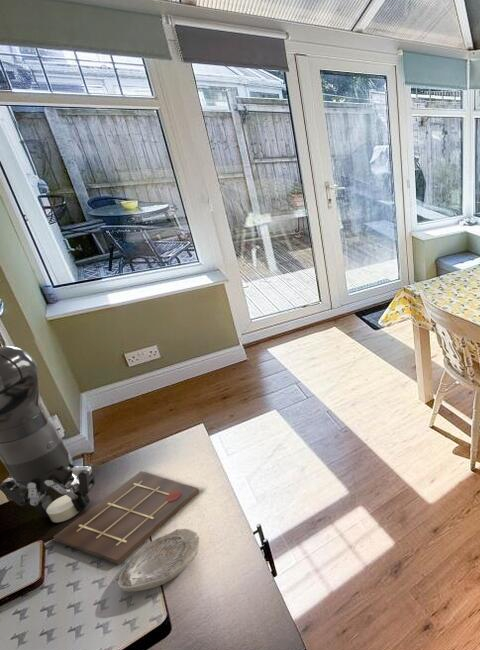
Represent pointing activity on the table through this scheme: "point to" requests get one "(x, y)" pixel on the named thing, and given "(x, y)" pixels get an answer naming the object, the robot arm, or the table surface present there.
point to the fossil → (159, 560)
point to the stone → (61, 509)
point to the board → (127, 517)
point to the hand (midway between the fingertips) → (66, 510)
